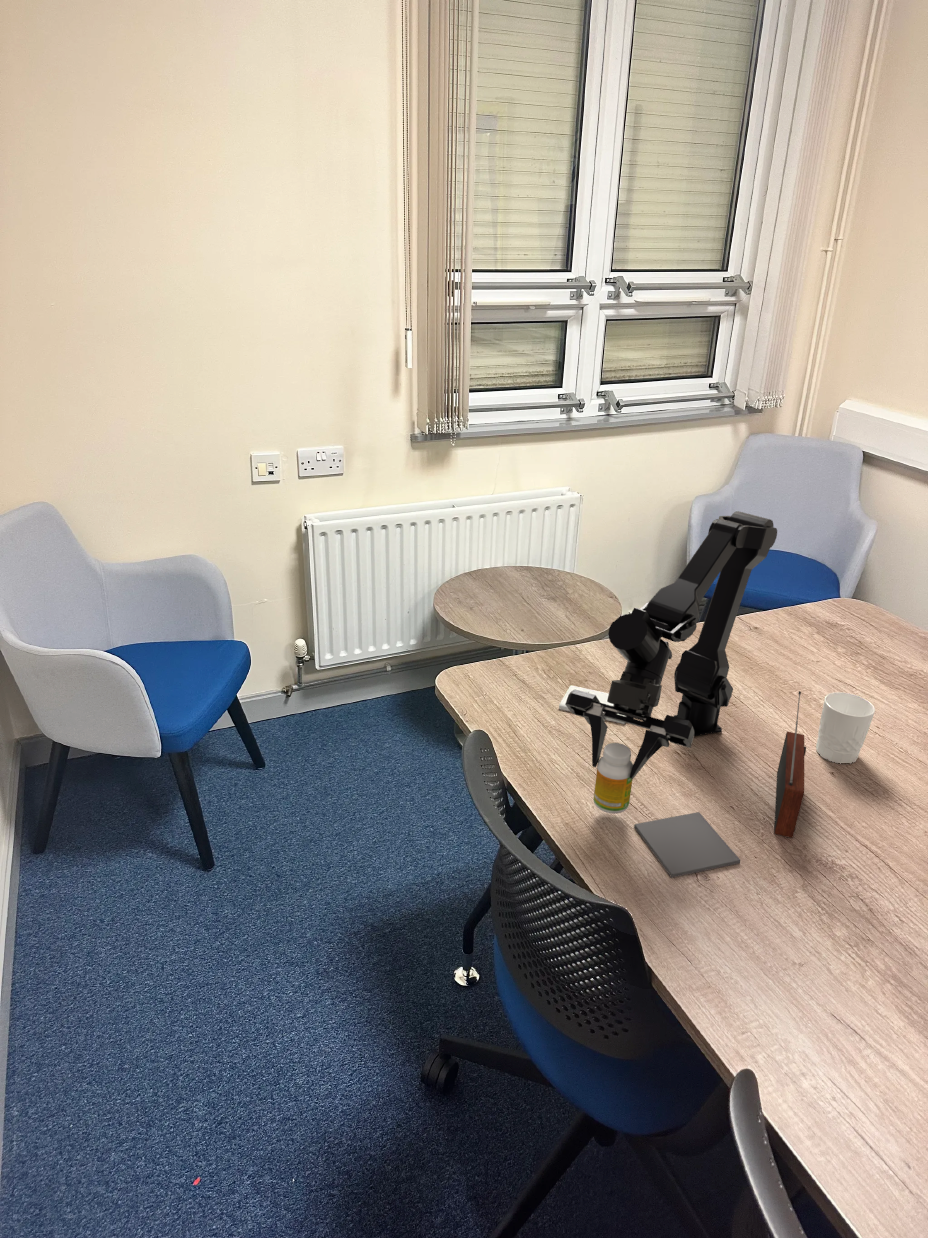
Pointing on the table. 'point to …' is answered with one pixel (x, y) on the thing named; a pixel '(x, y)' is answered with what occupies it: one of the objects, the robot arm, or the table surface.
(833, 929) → the table surface
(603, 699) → the external hard drive
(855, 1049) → the table surface
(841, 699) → the white cup
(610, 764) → the supplement bottle
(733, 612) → the robot arm
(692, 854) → the coaster mat
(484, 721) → the table surface
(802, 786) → the radio
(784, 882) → the table surface
